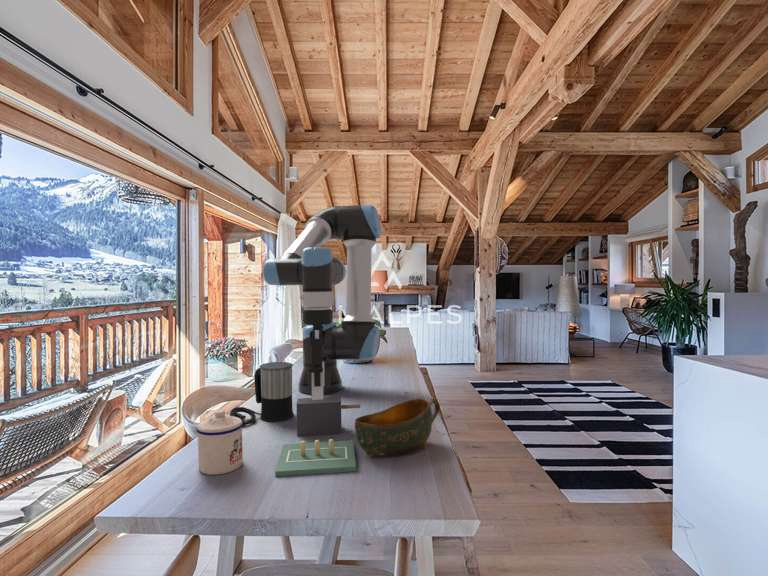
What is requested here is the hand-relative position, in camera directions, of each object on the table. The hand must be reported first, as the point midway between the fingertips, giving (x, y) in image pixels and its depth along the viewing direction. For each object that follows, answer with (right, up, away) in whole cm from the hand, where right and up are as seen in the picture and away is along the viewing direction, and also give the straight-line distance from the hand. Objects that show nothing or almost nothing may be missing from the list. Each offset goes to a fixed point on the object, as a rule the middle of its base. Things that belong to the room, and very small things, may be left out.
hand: (318, 392), depth 110 cm
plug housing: (+3, -10, +1) cm, 10 cm away
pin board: (+2, -11, -16) cm, 19 cm away
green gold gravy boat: (+20, -10, -11) cm, 25 cm away
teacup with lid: (-18, -11, -18) cm, 27 cm away
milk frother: (-17, -10, +11) cm, 23 cm away
